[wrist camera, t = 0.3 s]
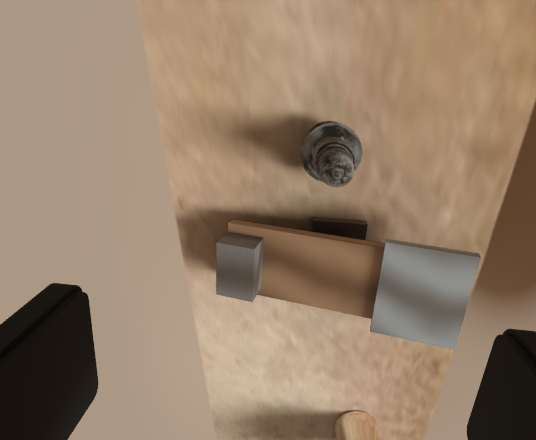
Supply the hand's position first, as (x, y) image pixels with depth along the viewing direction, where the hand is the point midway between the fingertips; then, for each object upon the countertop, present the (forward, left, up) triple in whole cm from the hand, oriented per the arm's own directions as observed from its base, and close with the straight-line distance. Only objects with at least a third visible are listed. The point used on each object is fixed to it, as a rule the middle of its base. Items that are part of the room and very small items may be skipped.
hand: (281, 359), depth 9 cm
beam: (+13, +5, -29) cm, 32 cm away
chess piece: (+1, +3, -34) cm, 34 cm away
